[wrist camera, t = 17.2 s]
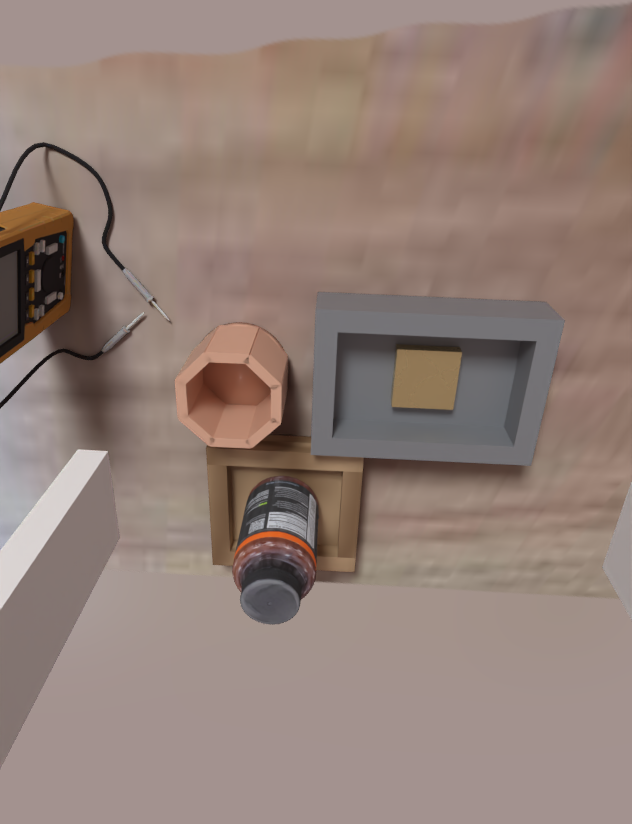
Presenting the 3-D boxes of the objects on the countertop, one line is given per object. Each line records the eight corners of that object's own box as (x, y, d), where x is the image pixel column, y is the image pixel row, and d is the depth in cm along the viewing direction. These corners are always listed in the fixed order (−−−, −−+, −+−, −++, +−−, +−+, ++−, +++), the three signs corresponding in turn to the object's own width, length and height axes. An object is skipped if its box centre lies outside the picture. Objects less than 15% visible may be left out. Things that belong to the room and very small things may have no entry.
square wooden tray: (218, 545, 53) (212, 564, 51) (212, 432, 48) (206, 448, 46) (353, 552, 53) (354, 572, 51) (362, 439, 48) (364, 455, 45)
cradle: (312, 428, 47) (310, 454, 44) (317, 292, 42) (315, 309, 39) (516, 438, 47) (530, 465, 44) (545, 301, 42) (564, 320, 38)
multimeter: (164, 376, 46) (52, 549, 28) (33, 348, 45) (-167, 506, 27) (188, 176, 39) (60, 236, 21) (34, 139, 39) (-230, 169, 21)
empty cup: (198, 406, 47) (180, 444, 41) (193, 320, 44) (172, 350, 38) (287, 410, 47) (280, 449, 41) (289, 324, 43) (281, 355, 38)
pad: (390, 400, 45) (391, 406, 44) (396, 344, 43) (397, 349, 42) (450, 403, 45) (453, 409, 44) (459, 347, 43) (462, 352, 42)
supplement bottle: (295, 542, 51) (283, 649, 41) (234, 510, 50) (207, 613, 40) (333, 494, 49) (331, 596, 39) (271, 459, 48) (252, 555, 38)
